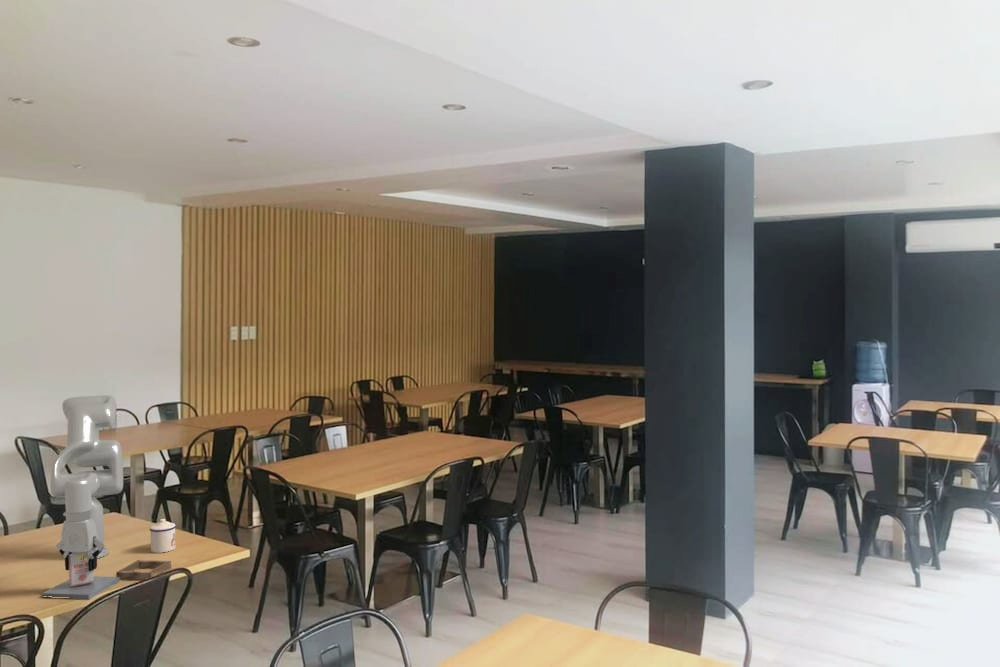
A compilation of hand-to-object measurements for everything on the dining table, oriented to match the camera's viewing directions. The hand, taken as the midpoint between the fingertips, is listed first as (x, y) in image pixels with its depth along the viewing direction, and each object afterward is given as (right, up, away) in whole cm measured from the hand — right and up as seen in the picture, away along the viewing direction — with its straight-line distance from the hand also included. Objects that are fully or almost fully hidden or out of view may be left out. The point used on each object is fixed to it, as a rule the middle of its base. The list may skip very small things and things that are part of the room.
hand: (81, 569), depth 257 cm
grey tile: (0, -7, 0) cm, 7 cm away
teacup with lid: (+9, -5, +42) cm, 44 cm away
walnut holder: (+14, -6, +14) cm, 21 cm away
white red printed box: (0, -5, 0) cm, 5 cm away
